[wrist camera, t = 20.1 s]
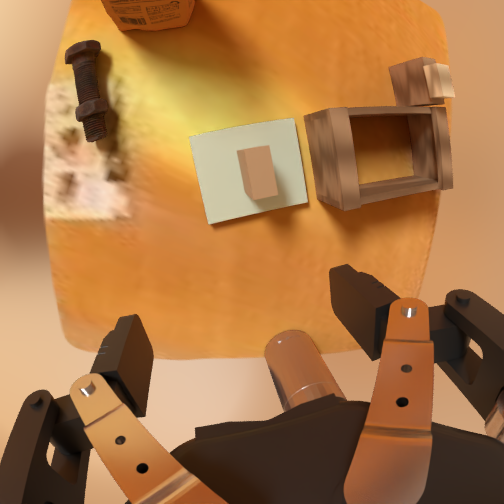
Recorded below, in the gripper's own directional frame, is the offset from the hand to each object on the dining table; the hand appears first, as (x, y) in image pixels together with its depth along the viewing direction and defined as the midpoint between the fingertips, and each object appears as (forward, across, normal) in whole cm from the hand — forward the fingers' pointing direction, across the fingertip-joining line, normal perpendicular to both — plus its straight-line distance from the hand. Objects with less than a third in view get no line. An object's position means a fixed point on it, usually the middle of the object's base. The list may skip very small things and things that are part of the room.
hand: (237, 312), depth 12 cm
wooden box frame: (+32, -26, -7) cm, 42 cm away
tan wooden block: (+23, -35, -13) cm, 44 cm away
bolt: (+32, +14, -20) cm, 41 cm away
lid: (+32, -6, -3) cm, 33 cm away
